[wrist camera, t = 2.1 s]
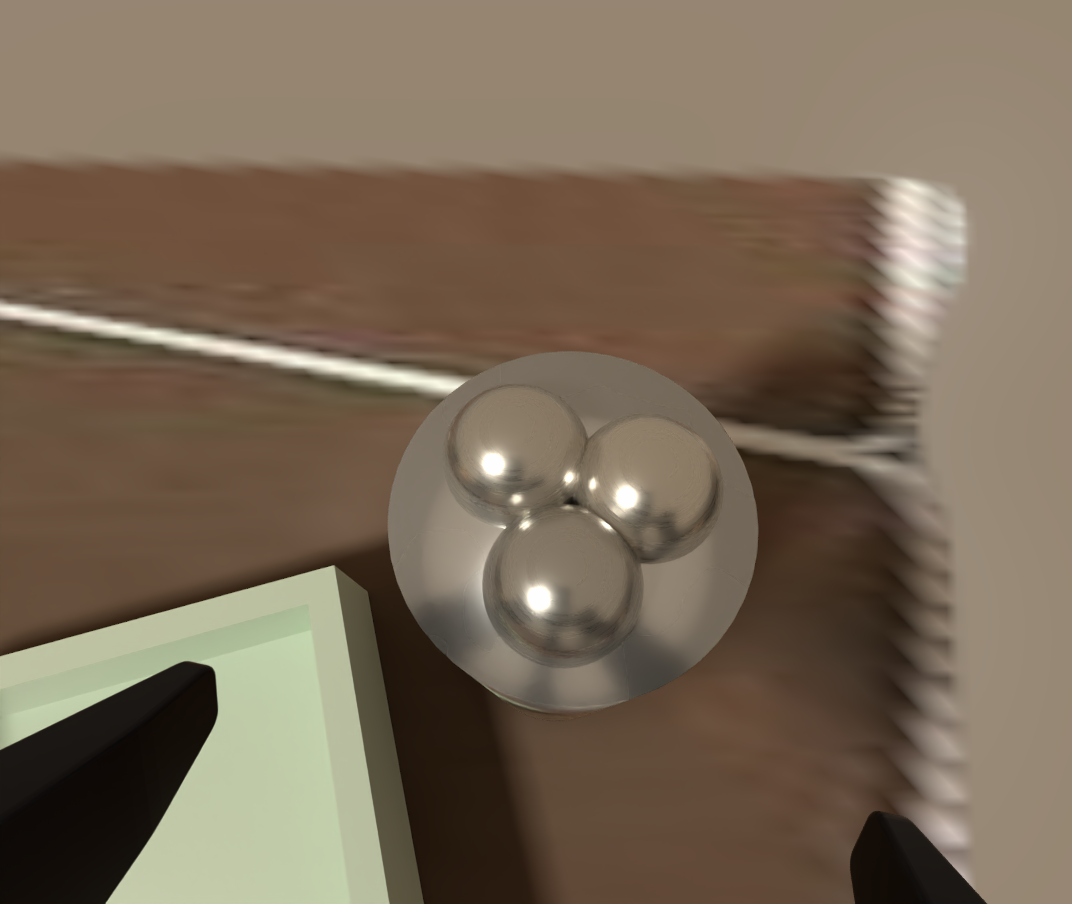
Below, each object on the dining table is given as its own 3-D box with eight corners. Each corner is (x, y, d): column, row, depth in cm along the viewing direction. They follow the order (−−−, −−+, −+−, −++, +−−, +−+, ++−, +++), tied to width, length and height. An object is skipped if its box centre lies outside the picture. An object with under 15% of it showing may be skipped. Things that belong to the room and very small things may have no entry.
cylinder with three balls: (658, 693, 19) (858, 628, 7) (498, 742, 18) (415, 765, 6) (606, 538, 21) (693, 274, 9) (459, 579, 20) (338, 361, 8)
